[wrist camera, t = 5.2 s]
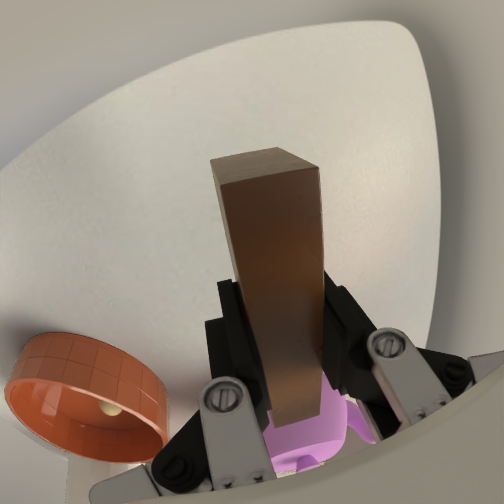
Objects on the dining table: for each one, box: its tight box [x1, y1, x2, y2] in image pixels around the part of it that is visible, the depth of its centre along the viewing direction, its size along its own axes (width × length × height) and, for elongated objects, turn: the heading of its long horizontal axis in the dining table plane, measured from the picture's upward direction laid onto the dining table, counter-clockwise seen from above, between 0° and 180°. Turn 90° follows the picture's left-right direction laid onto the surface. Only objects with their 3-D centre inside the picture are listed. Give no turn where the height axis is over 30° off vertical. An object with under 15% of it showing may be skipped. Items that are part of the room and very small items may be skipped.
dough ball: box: [99, 399, 122, 416], centre depth 27 cm, size 3×3×3 cm
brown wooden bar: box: [210, 147, 324, 428], centre depth 10 cm, size 11×2×3 cm, turn 9°
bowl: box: [4, 332, 170, 464], centre depth 26 cm, size 20×20×6 cm
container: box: [65, 453, 140, 504], centre depth 31 cm, size 14×14×18 cm
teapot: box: [263, 374, 376, 473], centre depth 29 cm, size 20×13×12 cm, turn 88°
